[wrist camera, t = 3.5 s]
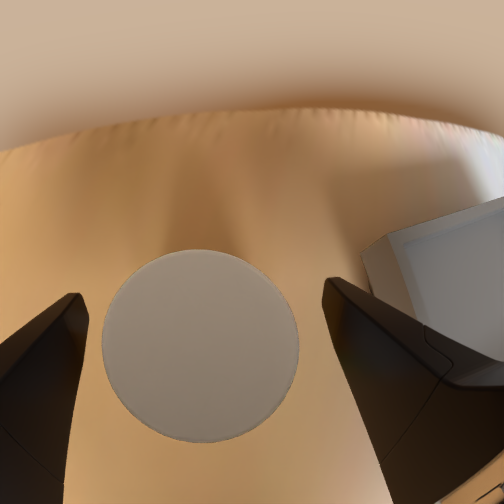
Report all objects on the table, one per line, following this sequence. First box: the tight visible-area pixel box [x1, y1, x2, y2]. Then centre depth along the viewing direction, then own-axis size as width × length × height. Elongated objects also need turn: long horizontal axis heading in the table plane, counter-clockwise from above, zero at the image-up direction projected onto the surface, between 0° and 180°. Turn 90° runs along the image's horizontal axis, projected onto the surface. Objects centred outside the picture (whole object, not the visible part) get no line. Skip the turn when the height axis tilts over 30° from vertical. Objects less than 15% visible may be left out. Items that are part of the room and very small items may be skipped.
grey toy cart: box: [360, 197, 504, 362], centre depth 13 cm, size 14×13×8 cm
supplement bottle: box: [102, 249, 299, 443], centre depth 10 cm, size 5×5×10 cm
